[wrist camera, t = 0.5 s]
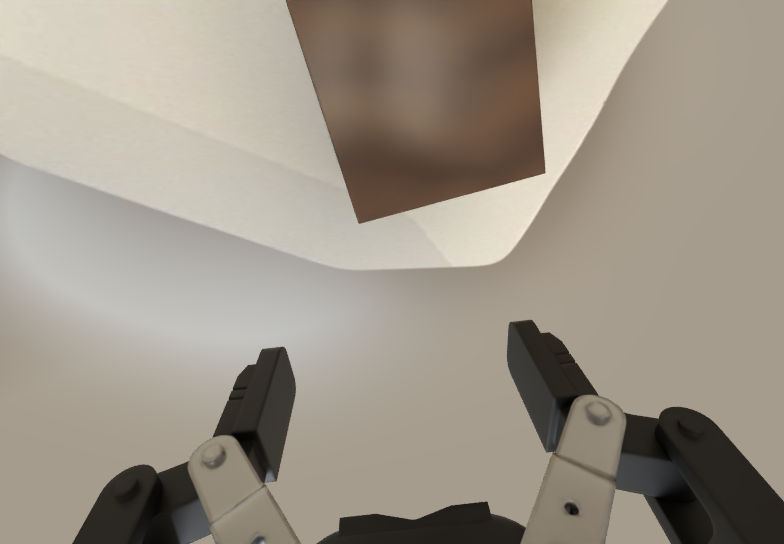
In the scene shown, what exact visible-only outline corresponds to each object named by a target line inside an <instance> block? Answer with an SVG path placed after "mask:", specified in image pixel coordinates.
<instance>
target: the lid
mask: <svg viewBox="0 0 784 544" xmlns="http://www.w3.org/2000/svg"><path fill="white" fill-rule="evenodd" d="M286 3H287V6H288V9H289V12H290V15H291V18H292V21H293V24H294V27H295V30H296V33H297V36H298V39H299V42H300V45H301V49H302V52H303V55H304V58H305V61H306V64H307V67H308V70H309V73H310V76H311V79H312V82H313V85H314V88H315V91H316V94H317V98H318V101H319V104H320V107H321V110H322V113H323V116H324V119H325V122H326V125H327V128H328V131H329V134H330V137H331V140H332V143H333V147H334V150H335V153H336V156H337V159H338V162H339V165H340V168H341V171H342V174H343V177H344V180H345V183H346V186H347V189H348V192H349V196H350V199H351V202H352V205H353V208H354V211H355V214H356V217H357V220H358V223H359V224H360V223H364V222H368V221H371V220H375V219H379V218H382V217H386V216H390V215H393V214H397V213H401V212H404V211H408V210H412V209H415V208H419V207H423V206H426V205H430V204H434V203H437V202H441V201H445V200H449V199H452V198H456V197H460V196H463V195H467V194H471V193H474V192H478V191H482V190H485V189H489V188H493V187H496V186H500V185H504V184H507V183H511V182H515V181H518V180H522V179H526V178H529V177H533V176H537V175H540V174H544V173H545V160H544V148H543V135H542V123H541V110H540V98H539V85H538V73H537V60H536V48H535V35H534V22H533V10H532V0H286Z"/></svg>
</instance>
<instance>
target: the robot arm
mask: <svg viewBox="0 0 784 544" xmlns="http://www.w3.org/2000/svg"><path fill="white" fill-rule="evenodd" d="M507 362H508V367H509V371H510V373H511V376H512V378H513V380H514V382H515V385H516V387H517V389H518V391H519V393H520V396H521V398H522V400H523V402H524V404H525V407H526V409H527V411H528V413H529V415H530V418H531V420H532V422H533V424H534V426H535V429H536V431H537V433H538V435H539V438H540V440H541V442H542V444H543V446H544V448H545V451H546V452H555V453H553V454H552V456H551V458H550V461H549V464H548V467H547V470H546V473H545V476H544V478H543V481H542V484H541V487H540V489H539V493H538V495H537V498H536V501H535V504H534V507H533V510H532V512H531V515H530V518H529V521H528V524H527V527H526V528H525V527H524V526H522V525H520V524H519V523H517V522H515V521H513V520H510V519H508V518H505V517H502V516H499V515H494V514H491V513H490V509H489V506H488V502H479V503H470V504H462V505H452V506H449V507H446V508H444V509H441V510H439V511H436V512H434V513H431V514H429V515H426V516H424V517H422V518H419V519H416V520H410V519H404V518H398V517H391V516H385V515H380V514H371V515H362V516H353V517H344V518H340V523H339V531H338V532H335V533H333V534H331V535H329V536H327V537H326V538H324V539H323V540H321V541H320V542H318V543H317V544H605V541H606V536H607V530H608V525H609V519H610V514H611V509H612V504H613V499H614V493H615V489H618V490H623V491H628V492H633V493H639V494H643V495H644V497H645V499H646V500H647V502H648V504H649V506H650V507H651V509H652V511H653V513H654V514H655V516H656V518H657V520H658V522H659V523H660V525H661V527H662V529H663V530H664V532H665V534H666V536H667V537H668V539H669V541H670V543H671V544H784V502H783V500H782V499H781V498H780V497H779V496H778V494H777V493H775V491H774V490H773V489H772V488H771V486H770V485H769V484H768V483H767V482H766V481H765V480H764V478H763V477H762V476H761V475H760V474H759V473H758V472H757V470H756V469H755V468H754V467H753V466H752V465H751V464H750V462H749V461H748V460H747V459H746V458H745V457H744V456H743V455H742V453H741V452H740V451H739V450H738V449H737V448H736V446H735V445H734V444H733V443H732V442H731V441H730V440H729V438H728V437H727V436H726V435H725V434H724V433H723V431H722V430H721V429H720V428H719V427H718V426H717V425H716V424H715V423H714V422H713V421H712V420H711V419H709V418H708V417H706V416H705V415H703V414H701V413H699V412H697V411H694V410H691V409H688V408H683V407H670V408H667V409H665V410H664V411H662V412H661V414H660V416H659V419H657V418H650V417H644V416H637V415H631V414H627V413H624V412H623V411H622V409H621V408H620V407H619V406H618V405H617V404H615V403H614V402H612V401H611V400H609V399H607V398H604V397H601V396H599V395H598V394H597V392H596V391H595V389H594V388H593V386H592V385H591V383H590V382H589V380H588V379H587V378H586V376H585V375H584V373H583V372H582V370H581V369H580V367H579V366H578V364H577V363H575V360H574V359H573V357H572V356H571V354H569V351H568V350H567V348H566V347H565V345H564V344H563V342H562V341H560V340H559V339H558V338H556V337H555V336H554V335H552V334H551V333H549V332H548V333H540V331H539V330H538V328H537V326H536V325H535V323H534V322H533V321H532V320H525V321H516V322H510V324H509V329H508V347H507ZM295 393H296V385H295V378H294V375H293V371H292V368H291V365H290V361H289V358H288V354H287V351H286V349H285V348H284V347H276V348H268V349H262V350H261V352H260V355H259V358H258V360H257V363H256V364H254V365H248V366H247V367H246V368H245V369H244V370H243V371H242V373H241V374H240V375H239V376H238V377H237V380H236V382H235V384H234V387H233V391H232V392H231V394H230V396H229V401H227V404H226V406H225V409H224V411H223V413H222V416H221V418H220V421H219V423H218V425H217V428H216V430H215V433H214V435H213V438H211V439H209V440H207V441H206V442H204V443H203V444H201V445H200V446H199V447H198V448H197V449H196V450H195V451H194V453H193V454H192V455H191V457H190V459H189V461H188V462H186V463H184V464H181V465H178V466H176V467H173V468H170V469H168V470H166V471H163V472H160V473H158V474H157V473H156V471H155V470H154V468H153V467H151V466H149V465H138V466H134V467H131V468H129V469H126V470H125V471H123V472H121V473H120V474H118V475H117V476H116V477H114V478H113V479H112V480H111V481H110V482H109V483H108V484H107V485H106V486H105V487H104V489H103V490H102V492H101V493H100V495H99V497H98V499H97V501H96V502H95V504H94V506H93V508H92V509H91V511H90V513H89V515H88V517H87V518H86V520H85V522H84V524H83V526H82V528H81V529H80V531H79V533H78V535H77V536H76V538H75V540H74V542H73V543H72V544H190V543H192V542H194V541H196V540H199V539H201V538H203V537H205V536H208V535H210V534H212V536H213V539H214V541H215V543H216V544H301V543H300V541H299V539H298V538H297V536H296V534H295V533H294V531H293V529H292V528H291V526H290V524H289V523H288V521H287V519H286V518H285V516H284V514H283V513H282V511H281V509H280V508H279V506H278V504H277V503H276V501H275V499H274V497H273V496H272V494H271V492H270V491H269V489H268V488H267V486H266V485H264V483H265V482H274V481H277V477H278V472H279V468H280V463H281V458H282V454H283V449H284V445H285V440H286V436H287V431H288V426H289V422H290V417H291V413H292V408H293V403H294V399H295Z"/></svg>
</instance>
